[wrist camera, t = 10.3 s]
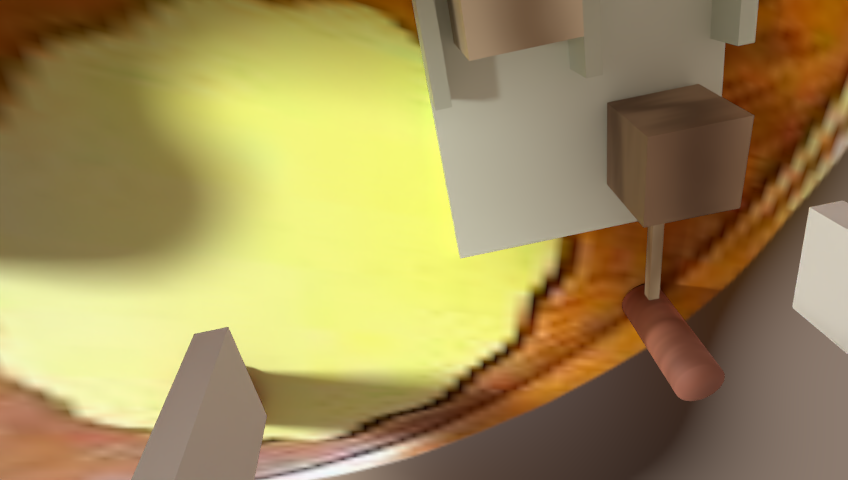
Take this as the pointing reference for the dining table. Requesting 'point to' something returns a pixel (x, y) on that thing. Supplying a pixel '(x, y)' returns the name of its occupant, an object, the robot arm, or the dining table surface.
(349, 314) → the dining table surface
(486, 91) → the white compartment tray
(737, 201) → the tethered block
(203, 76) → the dining table surface
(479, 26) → the maple block
